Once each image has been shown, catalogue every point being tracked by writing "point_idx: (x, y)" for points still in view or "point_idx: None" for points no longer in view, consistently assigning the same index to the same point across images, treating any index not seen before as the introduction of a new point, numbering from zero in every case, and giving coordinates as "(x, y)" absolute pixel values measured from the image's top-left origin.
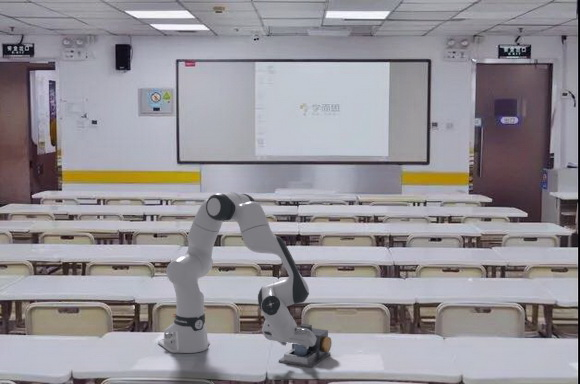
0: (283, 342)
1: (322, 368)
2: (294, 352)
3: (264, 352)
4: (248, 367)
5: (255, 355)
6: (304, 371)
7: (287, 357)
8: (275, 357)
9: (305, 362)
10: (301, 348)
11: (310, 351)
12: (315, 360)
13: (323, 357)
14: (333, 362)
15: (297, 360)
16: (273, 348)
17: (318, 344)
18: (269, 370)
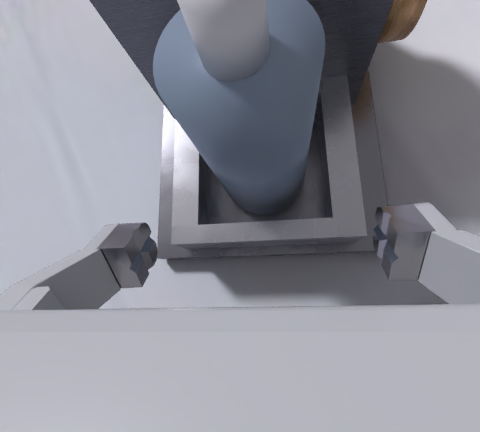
0: (124, 276)
1: (450, 216)
2: (227, 190)
3: (42, 160)
4: None
5: (17, 222)
6: None
7: (204, 245)
8: (116, 195)
9: (343, 241)
10: (287, 177)
11: None
12: (358, 149)
13: (368, 77)
14: (443, 90)
15: (280, 243)
16: (60, 90)
17: (372, 28)
18: None
